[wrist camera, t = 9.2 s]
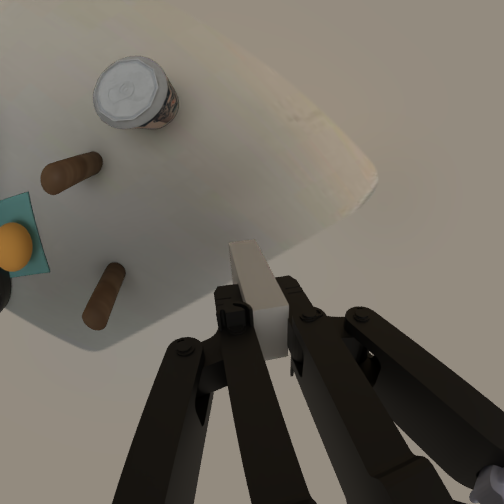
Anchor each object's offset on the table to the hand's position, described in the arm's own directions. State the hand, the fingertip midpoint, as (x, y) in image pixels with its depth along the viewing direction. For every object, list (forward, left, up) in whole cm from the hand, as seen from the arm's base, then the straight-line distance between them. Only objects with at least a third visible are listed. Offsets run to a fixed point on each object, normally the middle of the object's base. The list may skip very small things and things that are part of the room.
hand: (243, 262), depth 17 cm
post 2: (-13, -6, -14) cm, 20 cm away
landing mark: (-27, 0, -14) cm, 30 cm away
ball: (-25, 0, -11) cm, 27 cm away
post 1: (-13, +6, -14) cm, 20 cm away
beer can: (-6, +11, -14) cm, 19 cm away
